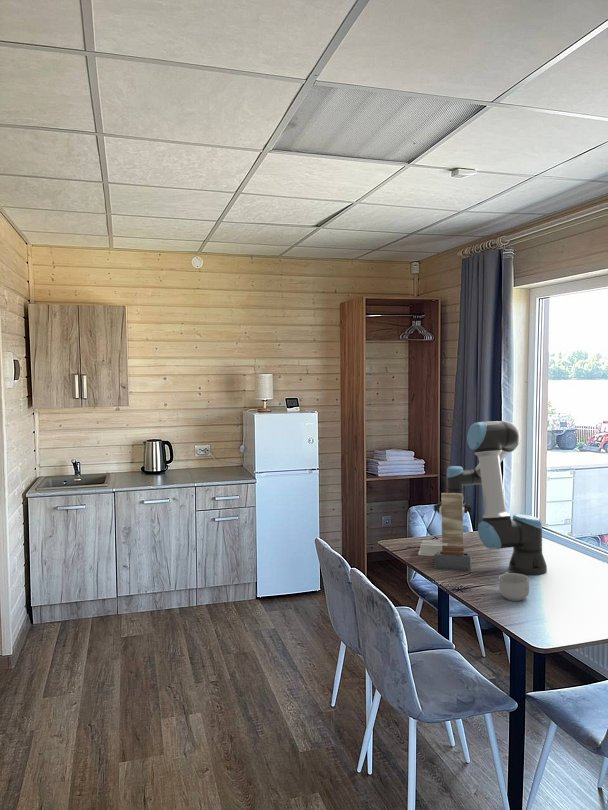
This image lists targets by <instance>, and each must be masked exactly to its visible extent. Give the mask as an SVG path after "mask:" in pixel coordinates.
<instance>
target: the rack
mask: <svg viewBox="0 0 608 810" xmlns="http://www.w3.org/2000/svg"><path fill="white" fill-rule="evenodd" d="M433 557H434V563H433V568H434V569H435V570H436V569H437V570H450V571H452V570H453V571H463V572H471V571H472V570H471V568H472V553H468V552H464V555H449V554H442V551H440V554H439V552H437V554H434V556H433Z"/></svg>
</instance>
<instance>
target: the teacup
mask: <svg viewBox="0 0 608 810" xmlns="http://www.w3.org/2000/svg"><path fill="white" fill-rule="evenodd" d="M529 580H530V577H528V576H527V575H526V574H521V573H517V572H511V573H510V572H508V571H505V572H504V573H503V574H500V575H499V576H498V586H499V592H500V594H501V595H502V596H503V597H504V598H505V599H506V600H509V601H513V602H518V601H519V602H521V601H523V600H525V599H526V598H528V596H529V593H530V581H529Z"/></svg>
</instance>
